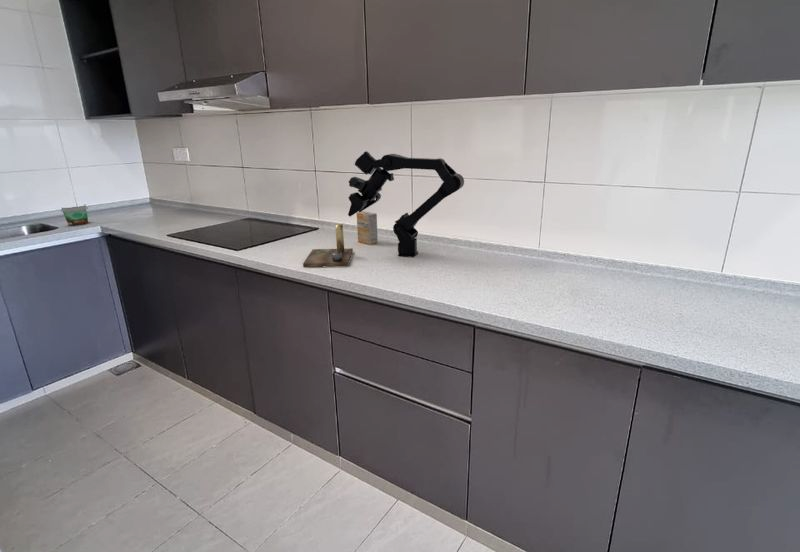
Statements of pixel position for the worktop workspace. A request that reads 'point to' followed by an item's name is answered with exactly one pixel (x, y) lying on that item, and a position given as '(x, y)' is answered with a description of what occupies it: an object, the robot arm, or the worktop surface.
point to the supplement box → (367, 227)
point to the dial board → (326, 258)
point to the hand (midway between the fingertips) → (354, 213)
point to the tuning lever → (339, 243)
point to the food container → (76, 215)
